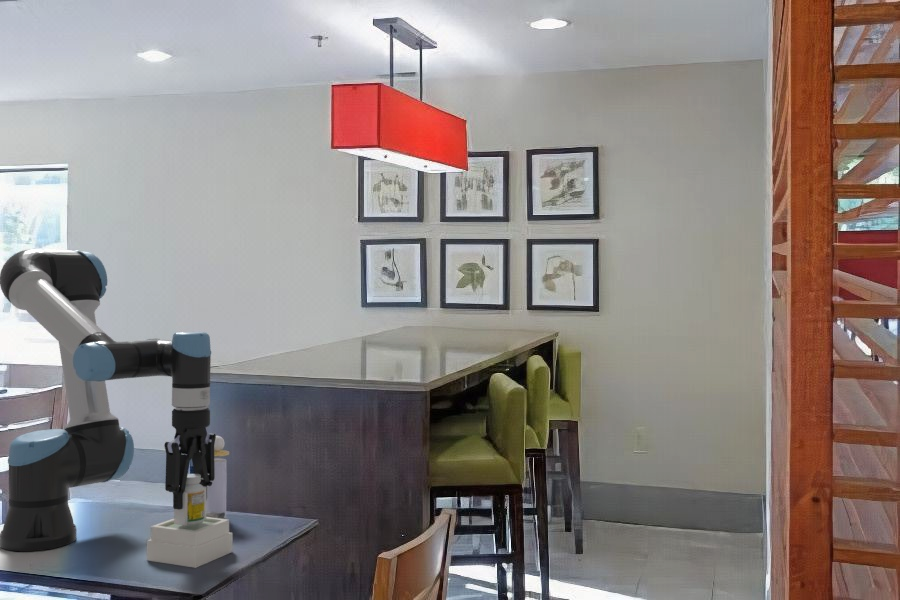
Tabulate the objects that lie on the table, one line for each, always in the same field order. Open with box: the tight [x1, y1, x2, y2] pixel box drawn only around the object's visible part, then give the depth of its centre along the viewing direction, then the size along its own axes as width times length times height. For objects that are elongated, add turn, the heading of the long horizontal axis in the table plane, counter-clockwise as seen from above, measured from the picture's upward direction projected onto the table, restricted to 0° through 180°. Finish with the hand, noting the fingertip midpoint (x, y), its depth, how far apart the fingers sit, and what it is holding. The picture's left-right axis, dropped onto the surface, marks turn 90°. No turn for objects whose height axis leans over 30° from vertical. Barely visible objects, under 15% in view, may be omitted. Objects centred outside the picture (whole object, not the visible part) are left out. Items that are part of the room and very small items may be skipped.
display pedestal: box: [146, 517, 234, 569], centre depth 190 cm, size 12×12×7 cm
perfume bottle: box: [206, 435, 230, 519], centre depth 219 cm, size 6×6×20 cm
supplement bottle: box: [179, 473, 204, 525], centre depth 190 cm, size 5×5×10 cm
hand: (190, 520), depth 190 cm, fingers closed on supplement bottle, 5 cm apart
